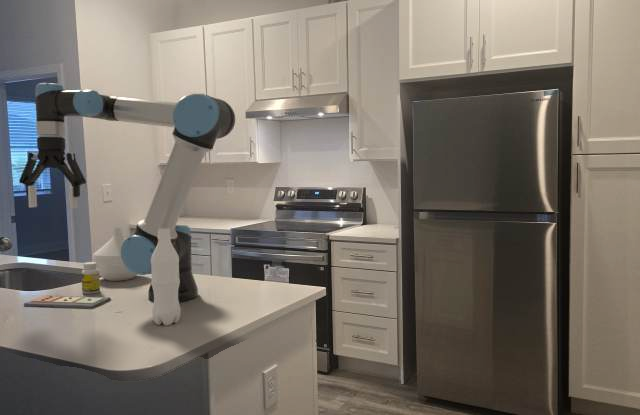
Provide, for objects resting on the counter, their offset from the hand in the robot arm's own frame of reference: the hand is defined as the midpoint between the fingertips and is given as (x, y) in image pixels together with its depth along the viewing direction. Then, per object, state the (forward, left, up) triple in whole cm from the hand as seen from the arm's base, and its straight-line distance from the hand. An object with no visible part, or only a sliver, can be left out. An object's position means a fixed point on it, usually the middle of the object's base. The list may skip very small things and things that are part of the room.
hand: (53, 207), depth 162 cm
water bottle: (-42, +16, -29) cm, 54 cm away
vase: (0, -36, -29) cm, 46 cm away
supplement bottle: (-2, -14, -29) cm, 33 cm away
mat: (-3, 0, -29) cm, 29 cm away
